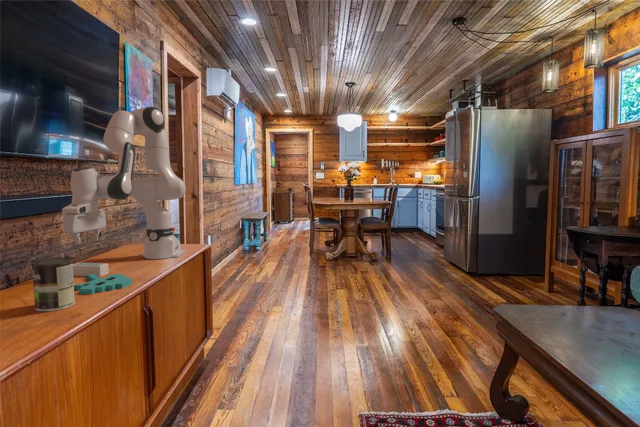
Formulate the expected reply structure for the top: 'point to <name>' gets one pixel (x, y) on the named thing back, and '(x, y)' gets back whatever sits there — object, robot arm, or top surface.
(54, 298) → the coffee can
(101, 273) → the beige rectangular block
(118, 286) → the alien figure
